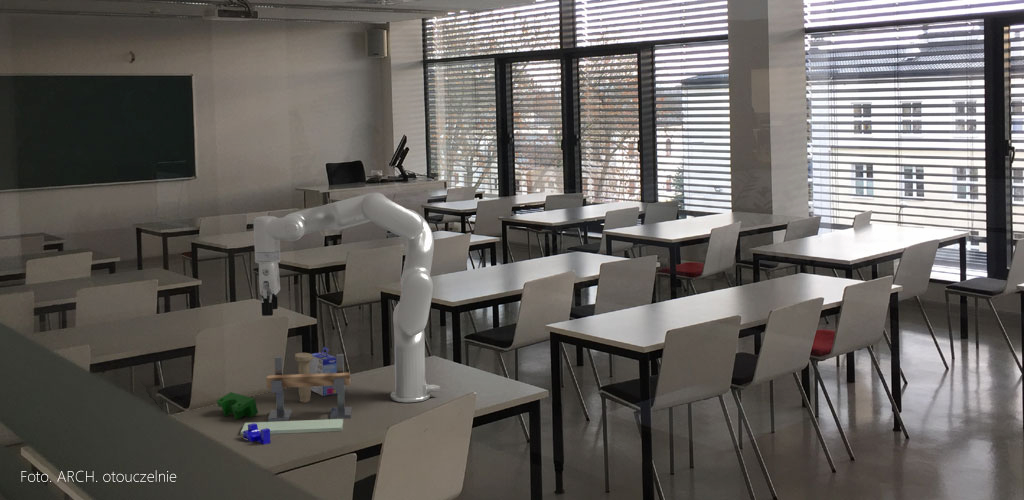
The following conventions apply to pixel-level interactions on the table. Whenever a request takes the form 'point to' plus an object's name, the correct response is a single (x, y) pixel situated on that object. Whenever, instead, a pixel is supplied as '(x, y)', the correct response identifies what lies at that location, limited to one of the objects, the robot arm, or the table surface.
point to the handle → (304, 369)
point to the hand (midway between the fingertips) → (270, 312)
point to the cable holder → (257, 434)
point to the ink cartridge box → (323, 370)
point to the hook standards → (285, 414)
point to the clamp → (237, 405)
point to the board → (299, 426)
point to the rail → (308, 379)
